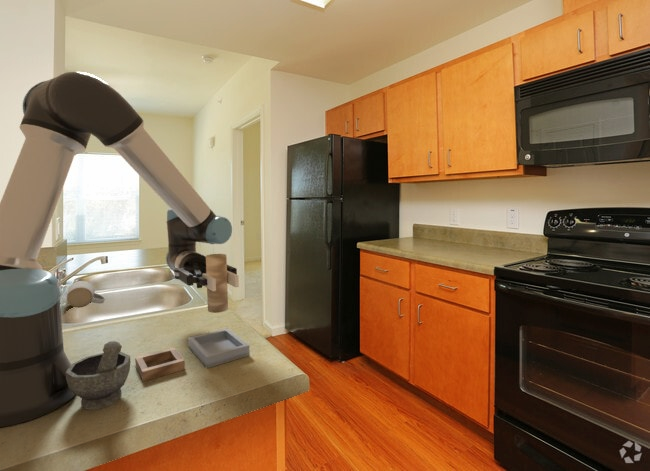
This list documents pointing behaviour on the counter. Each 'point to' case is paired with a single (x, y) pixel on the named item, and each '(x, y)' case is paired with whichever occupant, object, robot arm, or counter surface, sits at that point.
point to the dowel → (217, 282)
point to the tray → (218, 347)
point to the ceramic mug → (82, 294)
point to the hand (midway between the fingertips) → (225, 283)
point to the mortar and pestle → (99, 376)
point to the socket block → (161, 369)
